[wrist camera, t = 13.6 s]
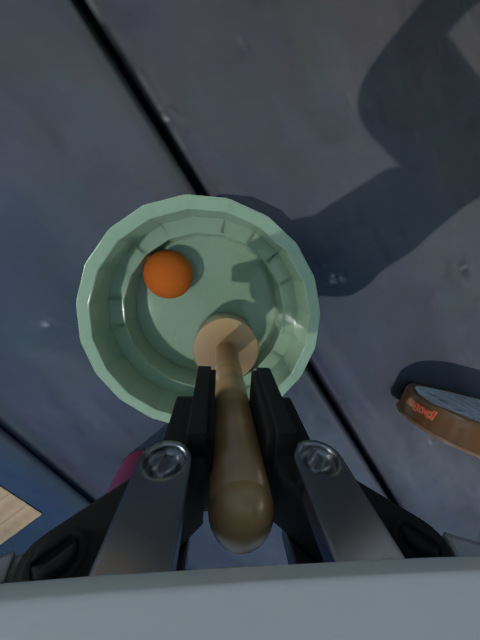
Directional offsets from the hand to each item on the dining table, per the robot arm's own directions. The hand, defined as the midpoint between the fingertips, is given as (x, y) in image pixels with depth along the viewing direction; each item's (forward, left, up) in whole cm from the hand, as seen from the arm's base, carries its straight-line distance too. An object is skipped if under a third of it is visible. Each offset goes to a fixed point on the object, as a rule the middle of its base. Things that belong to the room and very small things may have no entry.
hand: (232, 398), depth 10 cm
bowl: (-1, -2, -12) cm, 12 cm away
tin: (+8, +24, -12) cm, 28 cm away
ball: (-4, -5, -10) cm, 11 cm away
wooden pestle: (+1, 0, -11) cm, 11 cm away
